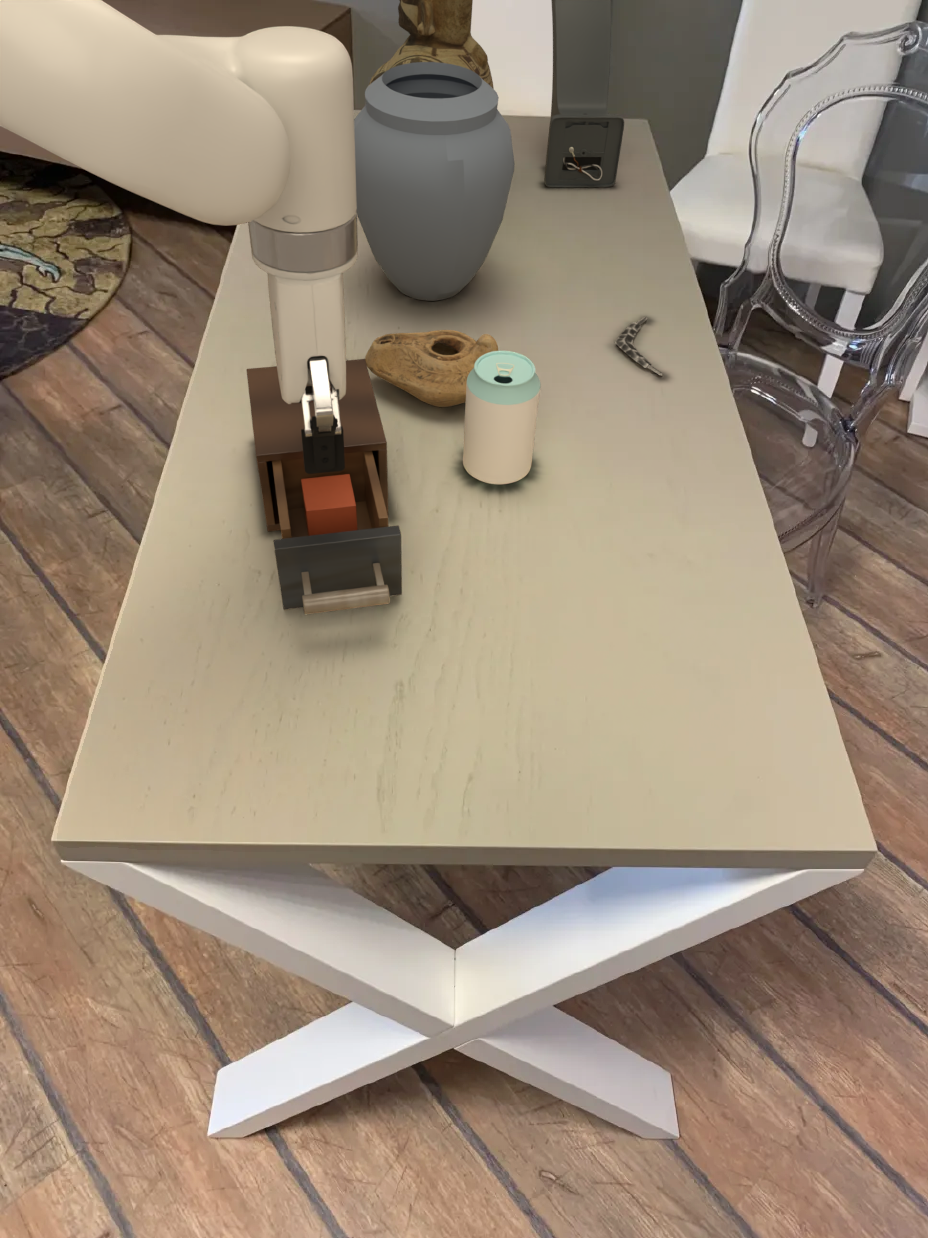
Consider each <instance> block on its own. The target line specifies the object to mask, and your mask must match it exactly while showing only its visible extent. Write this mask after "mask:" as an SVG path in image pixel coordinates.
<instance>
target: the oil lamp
mask: <svg viewBox="0 0 928 1238" xmlns="http://www.w3.org/2000/svg"><path fill="white" fill-rule="evenodd" d="M493 351H499V346H498V343H497V340H496V338H494V337H493V336H492V335H490V334H489V333H483V334H481V336H480V337H479V338H478V339H477V340H476V339H474V338H472V337H471V336H469V335H468V334H467V333H464V332H461V331H458V330H453V329H437V330H429V331H423V332H398V333H386V334H383V335H380V336H378V337H376V338H375V339H374V340H373V342H372V343H371V345H370V347H369V348H368V351H367V352H366V354H365V358H364V359H365V361H366V365H367V369H368V371H370V372H371V373H372V374H374V375H375V376H377V377H378V378H380V379H382V380H384V381H386V382H387V383H389V384H391V385H393V386H396V387H398V388H399V389H401V390H403V391H404V392H407V393H409V394H410V395H412V396H413V397H415V398H416V399H418V400H419V401H421V402H423V403H425V404H428V405H430V406H434V407H439V408H448V407H453V406H454V407H455V406H458V405H460V404H464V403H466V385H467V377H468V375H469V373H470V372H471V370H472V369H473V368H474V364H475V362H476V360H477V359H478V358H479V357H481V356H482V355H484V354H486V353H489V352H493Z"/></svg>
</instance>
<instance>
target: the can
mask: <svg viewBox="0 0 928 1238" xmlns="http://www.w3.org/2000/svg"><path fill="white" fill-rule="evenodd" d="M541 385H542V384H541V380H540V377H539V376H538V374H537V373H536V366H535V363H534V362H533V361H532V360H531V359H530V358H529V357H527V356H526V355H524V354H522V353H520V352H517V351H511V350H498V351H493V352H489V353H486V354H484V355H482V356H481V357H479V358H478V359H477V360H476V362H475V364H474V368H473V369H472V370H471V372H470V373H469V375H468V377H467V385H466V402H465V407H464V408H465V410H464V429H463V447H462V448H463V449H462V450H463V451H462V464H463V468H464V469H465V471H466V472H467V474H469V475H470V476H471V477H473V478H474V479H475V480H478V481H480V482H482V483H486V484H490V485H508V484H513V483H516V482H518V481H520V480H522V479H524V478H525V477H526V476H527V475H528V474H529V473H530V471H531V468H532V464H533V454H534V445H535V439H536V438H535V436H536V427H537V419H538V412H539V402H540V396H541V395H540V394H541V387H542V386H541Z"/></svg>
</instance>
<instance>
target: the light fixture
mask: <svg viewBox="0 0 928 1238" xmlns="http://www.w3.org/2000/svg"><path fill="white" fill-rule="evenodd" d="M551 18H552V19H551V20H552V21H551V22H552V83H551V84H552V85H551V86H552V87H551V105H550V107H551V108H550V119H549V125H548V126H549V128H548V136H547V146H546V154H545V155H546V156H545V164H544V165H545V167H544V174H543V175H544V177H543V181H544V184H545V186H546V187H548V188H611V187H613V186H614V185H615V184H616V179H617V174H618V169H619V163H620V156H621V149H622V143H623V136H624V131H625V130H624V129H625V119H624V118H623V116H622V115H620V114H610V112H609V109H608V102H609V87H610V75H611V73H610V72H611V47H612V46H611V44H612V43H611V42H612V0H551Z"/></svg>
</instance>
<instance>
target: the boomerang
mask: <svg viewBox="0 0 928 1238" xmlns="http://www.w3.org/2000/svg"><path fill="white" fill-rule="evenodd" d="M647 320H648V317H647V316H643V317H642V318H641V319H639V320H638V321H636V322H634V321H632V322H631V323H630V324H628V326H627V327H626V328H624V329H623V331H622V332H621V333H620V334H619V336H618V337H617V338H616V340H615V341H614V344H615V345H616V346H618V347H619V348H620V349H621V350H622V351H623V352H624V354H626V355H627V356H629V357H630V358H631V359H632V360H633V361H635V362H636V363H638V364H639V366H641V367H643V368H644V369H646V368H647V369H649V370H650V371H652V372H654V373H656V374H657V375H659V376H660V377H663V376H664V372H663V373H662V372H661V371H660V370H658V369H657V368H656V367H654V366H653V365H652V364H653V363H651V361H649V360H648V359H647V358H645V357H644V355H643V354H642V353H640V352H639V350H637V348H636V347H635V345H634V339H635V338H636V336H637V333H638V331H639V330H640V329H641V328H642V325H643V324H644V323H645V322H646V321H647Z"/></svg>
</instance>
